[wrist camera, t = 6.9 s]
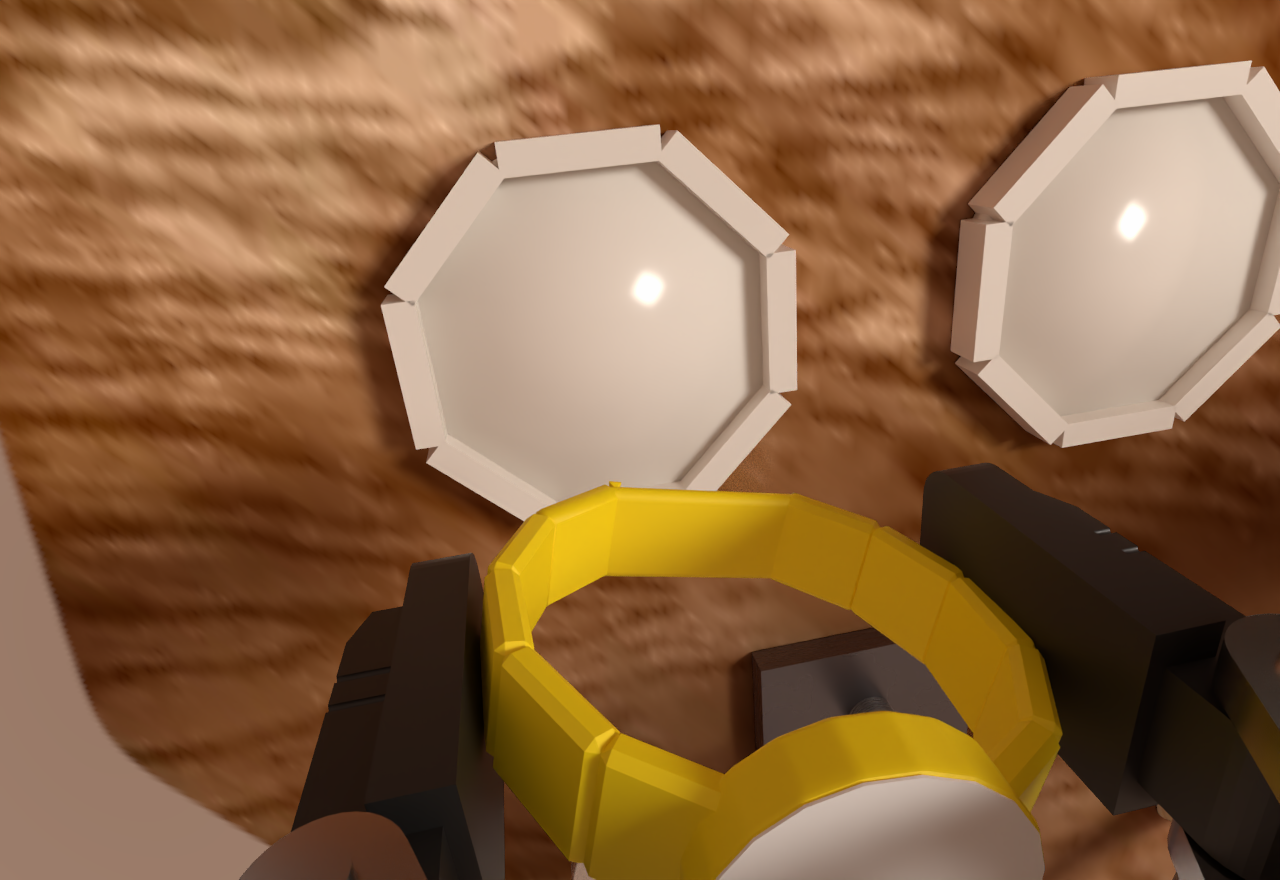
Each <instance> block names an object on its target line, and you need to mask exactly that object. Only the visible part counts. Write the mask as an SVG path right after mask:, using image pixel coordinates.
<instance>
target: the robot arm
mask: <svg viewBox="0 0 1280 880" xmlns="http://www.w3.org/2000/svg"><path fill="white" fill-rule="evenodd" d="M920 545H921V546H922V547H924V548H926V549H928V550H929V551H931V552H933V553H934V554H936V555H938V556H939V557H941V558H943V559H945V560H946V561H948V562H950V563H951V564H953V565H955V566H956V567H958V568H959V569H960V570H961V571H962V573H963V576H964V578H969V579H970V580H972V581H973V582H974V583H975V584H976V585H977V586H978V587H979V588H980V589H981V590H982V591H983V592H984V593H985V594H986V595H987V596H988V597H989V598H990V599H991V600H993V601H994V602H995V603H996V604H997V605H998V606H999V607H1000V608H1001V609H1002V610H1003V611H1004V612H1005V613H1006V614H1007V615H1008V616H1009V617H1010V618H1011V619H1012V620H1014V621H1015V622H1016V624H1017V625H1018V626H1019V627H1020V628H1021V629H1022V630H1023V631H1024V632H1025V633H1026V634H1027V635H1028V636H1029V637H1030V638H1031V639H1032V641H1033V642H1034V645H1035V649H1038V650H1039V652H1040V653H1041V655H1042V657H1043V658H1044V660H1045V664H1046V668H1047V672H1048V676H1049V680H1050V684H1051V688H1052V692H1053V697H1054V701H1055V705H1056V709H1057V713H1058V717H1059V721H1060V725H1061V729H1062V733H1063V734H1062V737H1061V739H1060V741H1059V743H1058V744H1059V746H1060V749H1059V751H1058V755H1059V756H1060V757H1061V758H1062V759H1063V760H1064V761H1065V762H1066V763H1067V765H1068V766H1069V767H1070V768H1071V769H1072V770H1073V771H1074V772H1075V773H1076V775H1077V776H1078V777H1079V778H1080V779H1081V780H1082V781H1083V782H1084V783H1085V785H1086V786H1087V787H1088V788H1089V789H1090V790H1091V791H1092V792H1093V793H1094V795H1095V796H1096V797H1097V798H1098V799H1099V800H1100V801H1101V802H1102V803H1103V805H1104V806H1105V807H1106V808H1107V809H1108V810H1109V811H1110V812H1111V813H1112V815H1113V816H1114V815H1118V814H1122V813H1126V812H1130V811H1134V810H1138V809H1142V808H1146V807H1150V806H1154V805H1158V804H1159V805H1160V806H1161V807H1162V808H1163V809H1164V810H1165V811H1166V812H1167V813H1168V814H1169V815H1170V816H1171V817H1172V818H1173V819H1172V822H1171V826H1170V829H1169V833H1168V838H1167V841H1168V850H1169V853H1170V857H1171V859H1172V862H1173V864H1174V867H1175V869H1176V872H1177V874H1178V877H1179V879H1180V880H1280V614H1257V615H1252V616H1247V617H1246V616H1244V615H1243V614H1241V613H1240V612H1238V611H1237V610H1235V609H1234V608H1232V607H1231V606H1229V605H1227V604H1226V603H1224V602H1223V601H1221V600H1220V599H1218V598H1217V597H1215V596H1214V595H1212V594H1210V593H1209V592H1207V591H1206V590H1204V589H1203V588H1201V587H1200V586H1198V585H1197V584H1195V583H1194V582H1192V581H1190V580H1189V579H1187V578H1186V577H1184V576H1183V575H1181V574H1180V573H1178V572H1177V571H1175V570H1174V569H1172V568H1170V567H1169V566H1167V565H1166V564H1164V563H1163V562H1161V561H1160V560H1158V559H1157V558H1155V557H1154V556H1152V555H1150V554H1149V553H1147V552H1146V551H1142V552H1139V550H1138V546H1137V545H1135V544H1133V543H1132V542H1130V541H1129V540H1127V539H1126V538H1124V537H1123V536H1121V535H1120V534H1118V533H1117V532H1116V533H1111V532H1110V528H1109V527H1107V526H1106V525H1104V524H1103V523H1101V522H1100V521H1098V520H1097V519H1095V518H1093V517H1092V516H1090V515H1089V514H1087V513H1086V512H1084V511H1083V510H1081V509H1080V508H1078V507H1076V506H1074V505H1071V504H1068V503H1066V502H1063V501H1060V500H1057V499H1055V498H1052V497H1049V496H1047V495H1044V494H1041V493H1038V492H1036V491H1033V490H1032V489H1030V488H1029V487H1027V486H1026V485H1024V484H1023V483H1021V482H1020V481H1018V480H1017V479H1015V478H1014V477H1012V476H1011V475H1009V474H1008V473H1006V472H1005V471H1003V470H1002V469H1000V468H999V467H997V466H996V465H994V464H991V463H981V464H975V465H970V466H964V467H958V468H953V469H947V470H942V471H936V472H933V473H931V474H930V475H929V477H928V478H927V480H926V482H925V486H924V494H923V508H922V523H921V537H920ZM483 595H484V592H483V588H482V583H481V579H480V574H479V570H478V566H477V562H476V559H475V557H474V555H473V553H468V554H463V555H457V556H451V557H446V558H440V559H435V560H429V561H423V562H418V563H413V564H412V565H411V568H410V572H409V578H408V583H407V588H406V593H405V598H404V603H403V606H402V607H397V608H392V609H386V610H381V611H375V612H372V613H371V614H370V616H369V617H368V618H367V619H366V620H365V621H364V623H363V624H362V625H361V626H360V627H359V629H358V630H357V631H356V632H355V633H354V635H353V636H352V637H351V638H350V639H349V641H348V642H347V643H346V646H345V649H344V653H343V656H342V659H341V663H340V666H339V670H338V673H337V683H334V687H333V690H332V694H331V697H330V700H329V704H328V707H329V712H328V713H326V714H325V717H324V721H323V724H322V728H321V731H320V735H319V738H318V741H317V745H316V748H315V752H314V755H313V758H312V762H311V765H310V769H309V772H308V775H307V779H306V782H305V786H304V789H303V792H302V796H301V799H300V803H299V806H298V810H297V813H296V816H295V820H294V823H293V827H292V830H291V833H289V834H288V835H286V836H284V837H283V838H281V839H280V840H278V841H277V842H276V843H275V844H273V845H272V846H271V847H269V848H268V849H267V850H266V851H265V852H264V853H263V854H262V855H261V856H259V857H258V858H257V859H256V860H255V861H254V862H253V863H252V864H251V866H250V867H249V868H248V869H247V870H246V871H245V873H244V874H243V875H242V876H241V877H240V879H239V880H505V847H504V781H503V779H502V778H501V777H500V776H499V775H498V773H497V772H496V771H495V770H494V768H493V760H494V757H493V756H492V755H490V754H489V753H488V752H486V746H485V735H484V719H483V698H482V678H481V657H480V638H481V624H482V610H483Z"/></svg>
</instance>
